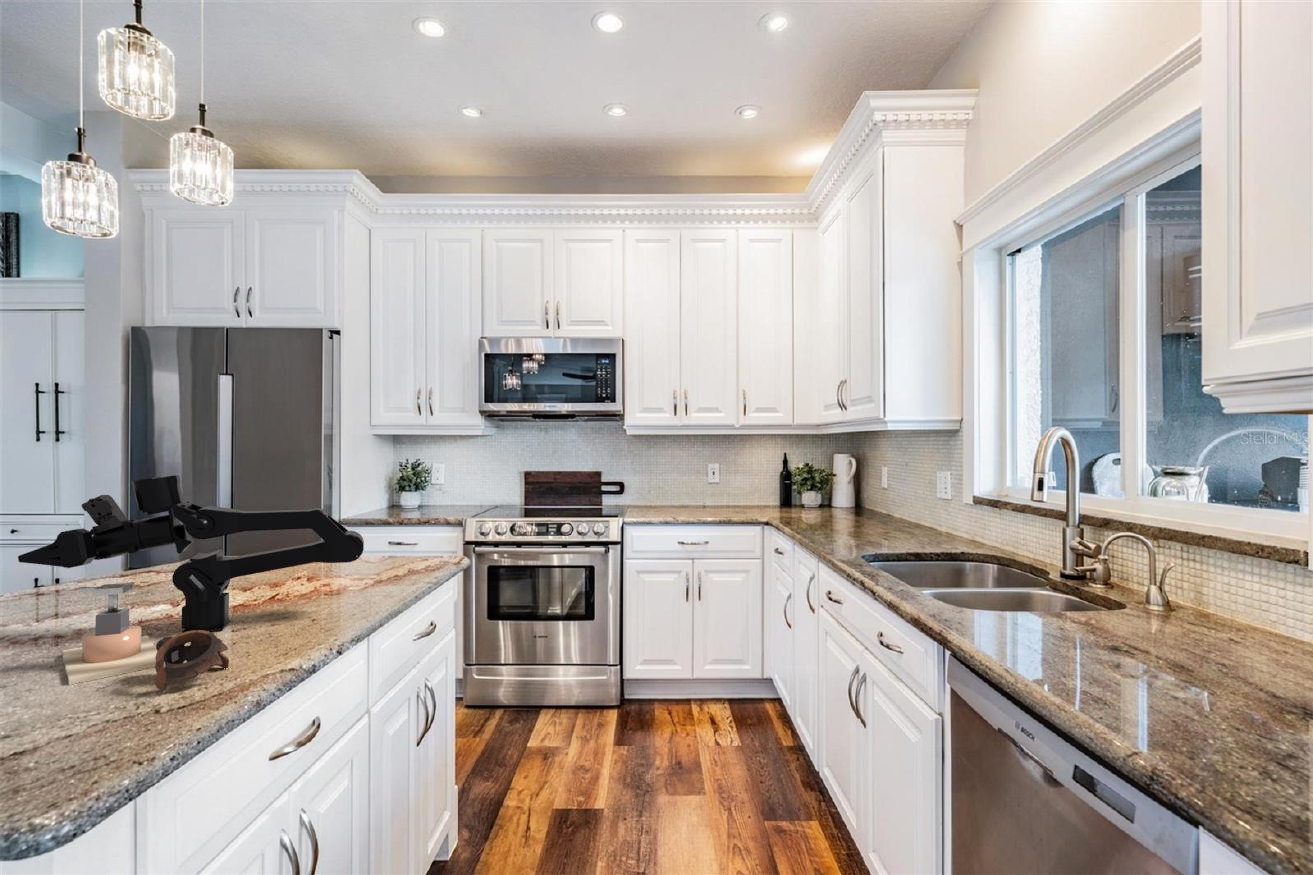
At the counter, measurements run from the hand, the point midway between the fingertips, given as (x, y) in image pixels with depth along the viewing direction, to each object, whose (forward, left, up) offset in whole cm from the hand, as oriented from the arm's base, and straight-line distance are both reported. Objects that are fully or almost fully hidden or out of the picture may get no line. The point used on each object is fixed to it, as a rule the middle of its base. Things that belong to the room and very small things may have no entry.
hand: (32, 556), depth 106 cm
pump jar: (-16, +13, -16) cm, 26 cm away
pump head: (-15, +13, -8) cm, 21 cm away
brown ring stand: (-30, +27, -16) cm, 44 cm away
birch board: (-16, +13, -16) cm, 26 cm away
